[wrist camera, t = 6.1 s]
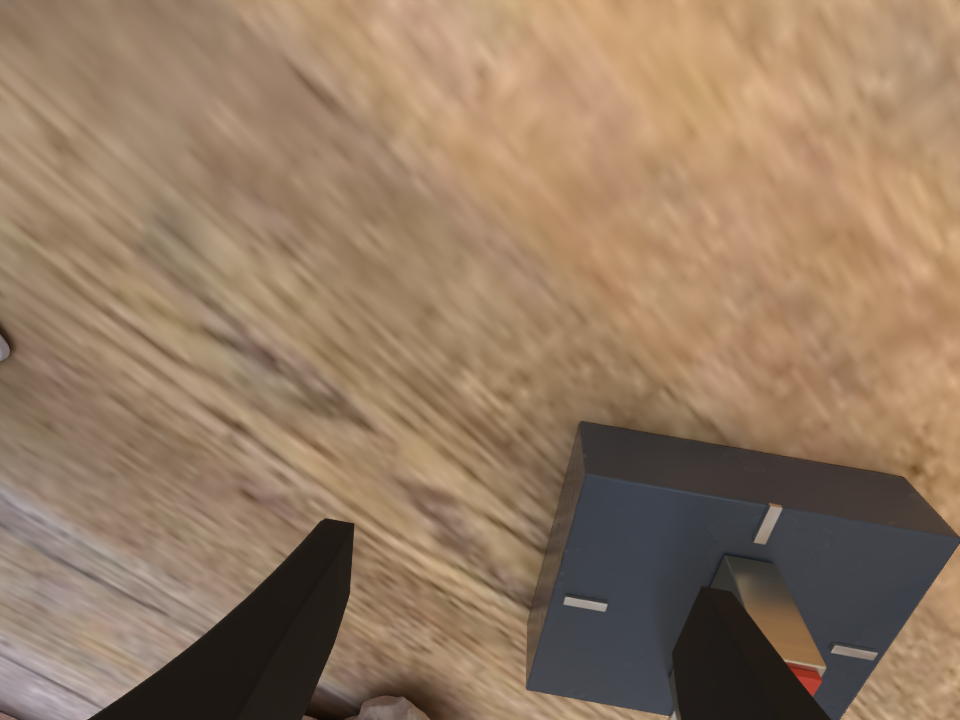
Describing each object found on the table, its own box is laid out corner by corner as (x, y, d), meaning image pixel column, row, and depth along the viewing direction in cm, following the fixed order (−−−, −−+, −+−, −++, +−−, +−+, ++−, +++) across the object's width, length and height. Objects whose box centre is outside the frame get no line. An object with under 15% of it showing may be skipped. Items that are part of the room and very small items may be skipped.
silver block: (712, 688, 20) (747, 809, 17) (667, 680, 20) (692, 799, 17) (776, 563, 17) (832, 676, 14) (724, 553, 18) (767, 664, 14)
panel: (526, 623, 24) (524, 696, 21) (580, 417, 19) (586, 473, 17) (790, 672, 24) (824, 751, 21) (905, 473, 19) (969, 541, 16)
